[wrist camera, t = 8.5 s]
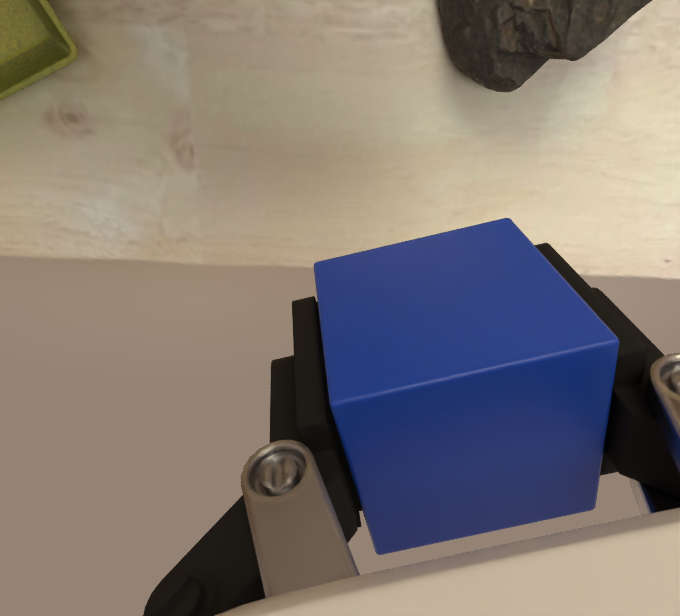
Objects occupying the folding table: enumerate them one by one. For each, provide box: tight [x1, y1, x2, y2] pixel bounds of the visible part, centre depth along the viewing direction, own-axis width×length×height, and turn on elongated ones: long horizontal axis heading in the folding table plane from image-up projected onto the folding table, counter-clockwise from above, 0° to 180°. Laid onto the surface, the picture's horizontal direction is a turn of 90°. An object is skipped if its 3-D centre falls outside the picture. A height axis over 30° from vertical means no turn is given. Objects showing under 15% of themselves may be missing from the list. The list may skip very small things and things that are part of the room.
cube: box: [314, 218, 619, 555], centre depth 11 cm, size 4×4×4 cm
